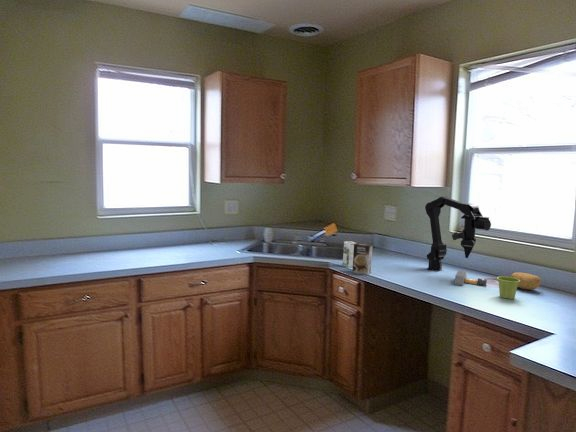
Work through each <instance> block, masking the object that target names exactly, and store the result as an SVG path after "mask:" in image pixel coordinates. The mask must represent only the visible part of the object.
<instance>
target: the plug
mask: <svg viewBox="0 0 576 432" xmlns="http://www.w3.org/2000/svg"><path fill="white" fill-rule="evenodd" d="M464 284H471V285H477V286H485V287H487V279H486V278H477V279H471V278H466V279H465V280H464Z"/></svg>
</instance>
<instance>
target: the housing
mask: <svg viewBox="0 0 576 432" xmlns="http://www.w3.org/2000/svg"><path fill="white" fill-rule="evenodd" d="M454 279H455V280H454V285H455V286H464V285H465V283H464V280H465V279H467V270H461V269H460V270H459V269H458V270H457V272H456V274H455V278H454Z"/></svg>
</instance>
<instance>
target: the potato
mask: <svg viewBox="0 0 576 432" xmlns="http://www.w3.org/2000/svg"><path fill="white" fill-rule="evenodd" d="M510 277H512V278H516V279H519V280H520V282H519V284H518V286H517V288H520V289H522V290H525V291H532V290H536V289H537V288H538V287H540V286H541V283H542V279H541V278H540V276H538V275H536V274H535V275H534V274H531V273H527V272H520V271H519V272H518V271H517V272H513V273H512V274H511V275H510Z"/></svg>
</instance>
